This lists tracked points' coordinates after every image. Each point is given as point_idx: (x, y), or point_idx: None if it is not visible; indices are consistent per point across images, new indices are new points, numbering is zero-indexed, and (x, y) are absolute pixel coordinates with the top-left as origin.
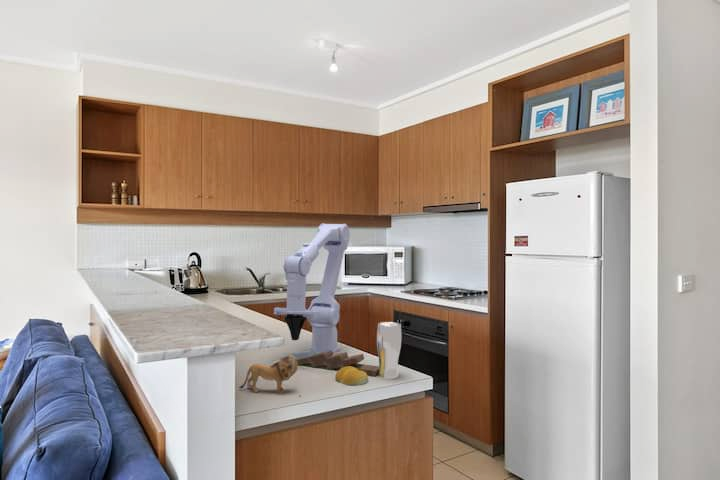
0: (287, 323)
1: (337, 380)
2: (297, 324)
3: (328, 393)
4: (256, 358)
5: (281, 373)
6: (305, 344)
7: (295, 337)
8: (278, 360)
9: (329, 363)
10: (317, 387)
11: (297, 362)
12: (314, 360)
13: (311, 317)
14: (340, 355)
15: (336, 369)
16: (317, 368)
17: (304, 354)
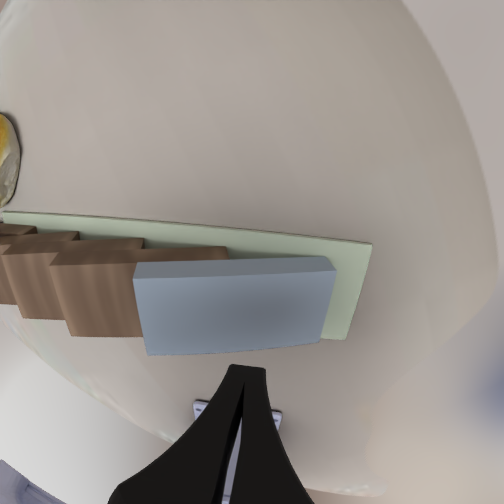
0: (292, 486)
1: (6, 118)
2: (155, 465)
3: (11, 19)
4: (455, 301)
5: None
6: (321, 459)
7: (224, 379)
8: (355, 296)
9: (56, 242)
10: (40, 32)
11: (220, 253)
12: (114, 252)
13: (41, 490)
14: (3, 259)
15: None
16: (119, 235)
17: (159, 271)
